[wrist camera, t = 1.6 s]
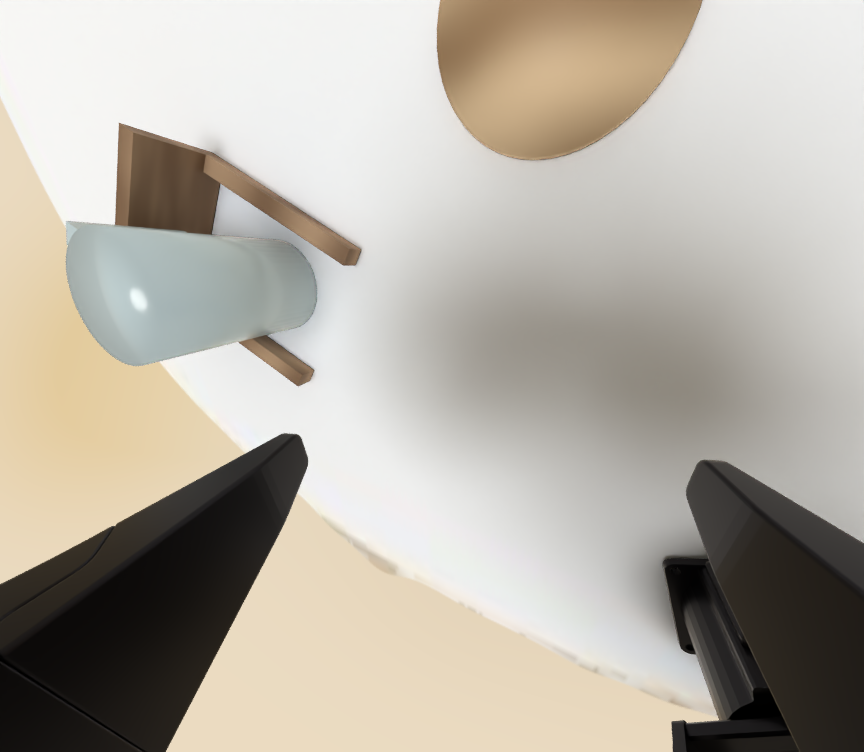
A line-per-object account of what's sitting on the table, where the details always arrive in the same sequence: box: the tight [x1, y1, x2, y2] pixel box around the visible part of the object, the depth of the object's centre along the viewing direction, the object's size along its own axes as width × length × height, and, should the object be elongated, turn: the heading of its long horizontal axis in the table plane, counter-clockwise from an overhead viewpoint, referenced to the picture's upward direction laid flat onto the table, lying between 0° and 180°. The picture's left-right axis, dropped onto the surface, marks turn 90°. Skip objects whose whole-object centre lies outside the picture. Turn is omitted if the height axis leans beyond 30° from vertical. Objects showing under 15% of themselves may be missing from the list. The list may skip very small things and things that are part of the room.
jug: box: [66, 221, 317, 366], centre depth 18 cm, size 9×6×10 cm, turn 61°
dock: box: [115, 123, 361, 386], centre depth 20 cm, size 12×10×5 cm
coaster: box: [437, 0, 702, 160], centre depth 13 cm, size 10×10×1 cm
